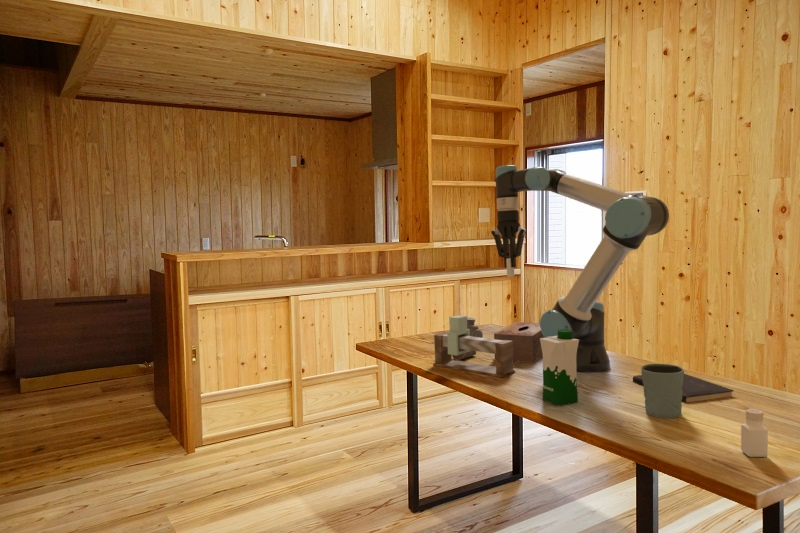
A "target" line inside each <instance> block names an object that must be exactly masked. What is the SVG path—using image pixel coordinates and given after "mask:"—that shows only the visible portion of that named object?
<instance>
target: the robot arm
mask: <svg viewBox="0 0 800 533" xmlns="http://www.w3.org/2000/svg"><path fill="white" fill-rule="evenodd" d="M494 180H495V181H494V182H495V191H496V209H497V213H496V216H497V217H496V218H497V225H496V228H495V229H494V230H491V232H490V233H491V235H492V236H493V238H494V242H495V247H496V249H497V254H498V257H500V258H503V262H504V263H503V264H504V268H506V276H507V278H514V277H515V268H516V267H517V258H518V257H521V256H522V249H523V245H524V240H525V235H526V234H527V231H528V230H527V229H526V228H523V227H521V223H520V211H519V210H518V209H519V208H520V207H519V206H520V204H519V193H521V192H531V191H533V192H538V191H539V192H551V193H554V194H557V195H560V196H563V197H566V198H568V199H570V200H574V201H576V202H579V203H583V204H584V205H587V206H590V207H593V208H596V209H598V210H601V211H604V212H606V213H605V216H604V220H605V224H604V226H603V228H602V233H603V238H602V239H601V241H600V243H599V244H598V245H597V247H596V249H595V250H594V252H593V253H592V255H591V257H590V258H589V260H588V261H587V263H586V265H584V268H583V269H582V271H581V272H580V274H579V276H577V279H576V280H575V282H574V283H573V285H572V287H570V290H569V291H568V292H567V294H566V295H564V296H560V297H558V300H557V301H556V303H555V304H554V306H553V308H552V309H548V310H547V311H545V312H544V313H543V314H542V315H541V317H540V319H539V323H540V328H541V332H542V334H543V336H544V337H545V338H547V337H552V336H558V330H572V337H573V338H576V339H578V340H579V343H578V348H577V353H576V371H577V372H585V373H588V372H589V373H595V372H603V371H608V370H609V369H610V368H611V360H610V358H609V354H608V352H607V350H606V346H605V307H604V304H603V303H602V302H601V301H598V299H599V298H600V297H601V295H602V293H603V292H604V290H605V289H606V288H607V286H608V285H609V283H610V281H611V280H612V279H613V278H614V276H615V274H616V273H617V271H618V270H619V269H620V267H621V265H622V263H623V262H624V261H625V259H626V258H627V256H628V255H629V252H631V251H637V250H638V249H639V248H640V246H641V245H642V243H643V242H644V240H645V239H646V238H647V236H653V235H656V234H659V233H660V232H662V231H663V230H664V229H665V228H666V226H667V225H668V223H669V220H670V212H669V209H668V206H667V204H666V203H665V202H664V201H662V199H659V198H657V197H652V196H647V195H644V194H640V193H638V192H637V193H635V192H634V193H633V194H630V193H626V192H624V191H621V190H617V189H614V188H613V187H608V186H605V185H603V184H600V183H596V182H593V181H590V180H587V179H584V178H582V177H578V176H575V175H572V174H570V173H567V172H566V171H564V170H561V169H559V168H553V169H550V168H545V167H544V166H534V167H529V168H525V169H524V168H523V169H518V167H517V166H516V165H514V164H508V165H507V164H506V165H499V166H497V167H496V168H495V178H494ZM517 233H518V234H517Z"/></svg>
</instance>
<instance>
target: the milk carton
mask: <svg viewBox="0 0 800 533" xmlns="http://www.w3.org/2000/svg"><path fill="white" fill-rule="evenodd" d="M540 342H541V348H542V354H543V355H542V401H545V402H548V403H550V404H552V405H554V406H556V407H561V406H566V405H570V404H576V403H579V398H578V385H577V377H578V376H577V372H578V371H576V353H577V348H578V343H579V340H578V339H576V338H573V337H572V330H558V336H552V337H547V338H540Z"/></svg>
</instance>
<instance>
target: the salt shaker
mask: <svg viewBox="0 0 800 533" xmlns="http://www.w3.org/2000/svg"><path fill="white" fill-rule="evenodd" d="M763 421H764V411H762V409H761V410H760V409H757V408H756V409H755V408H747V409H745V423H742V424H741V425H740V450H741V452H743V453H744V454H745V455H746V456H748V457H750V458H767V457H768V455H769V454H768V452H769V451H768V449H769V448H768V446H769V445H768V444H769V443H768V442H769V431H768V430H769V429H768V428H767V426H764V424H763Z"/></svg>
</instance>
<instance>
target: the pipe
mask: <svg viewBox="0 0 800 533" xmlns="http://www.w3.org/2000/svg"><path fill="white" fill-rule="evenodd" d="M476 354H477V351H471V350H470V351H469V352H466V353H463V354H460V355H457V356H456V355H452V359H453V360H457V361H461V360H465V359H469V358H470V357H473V356H476Z"/></svg>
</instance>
